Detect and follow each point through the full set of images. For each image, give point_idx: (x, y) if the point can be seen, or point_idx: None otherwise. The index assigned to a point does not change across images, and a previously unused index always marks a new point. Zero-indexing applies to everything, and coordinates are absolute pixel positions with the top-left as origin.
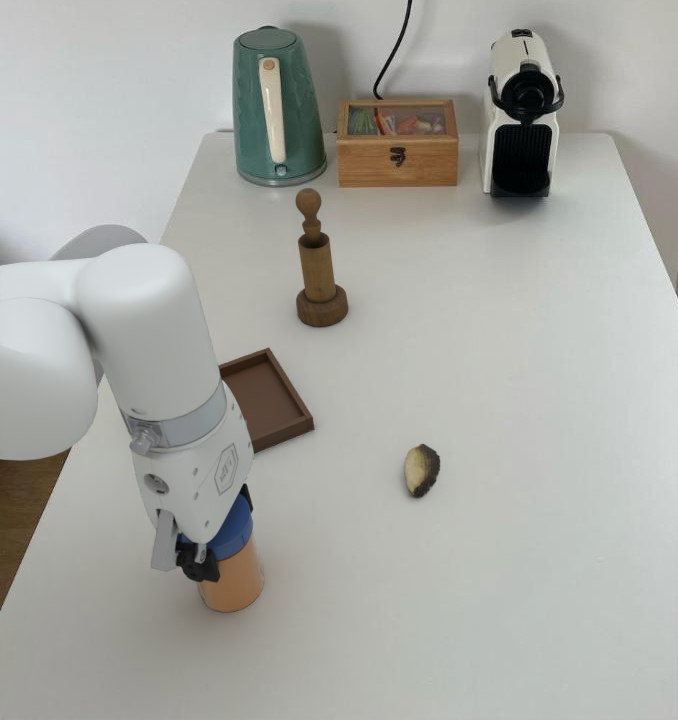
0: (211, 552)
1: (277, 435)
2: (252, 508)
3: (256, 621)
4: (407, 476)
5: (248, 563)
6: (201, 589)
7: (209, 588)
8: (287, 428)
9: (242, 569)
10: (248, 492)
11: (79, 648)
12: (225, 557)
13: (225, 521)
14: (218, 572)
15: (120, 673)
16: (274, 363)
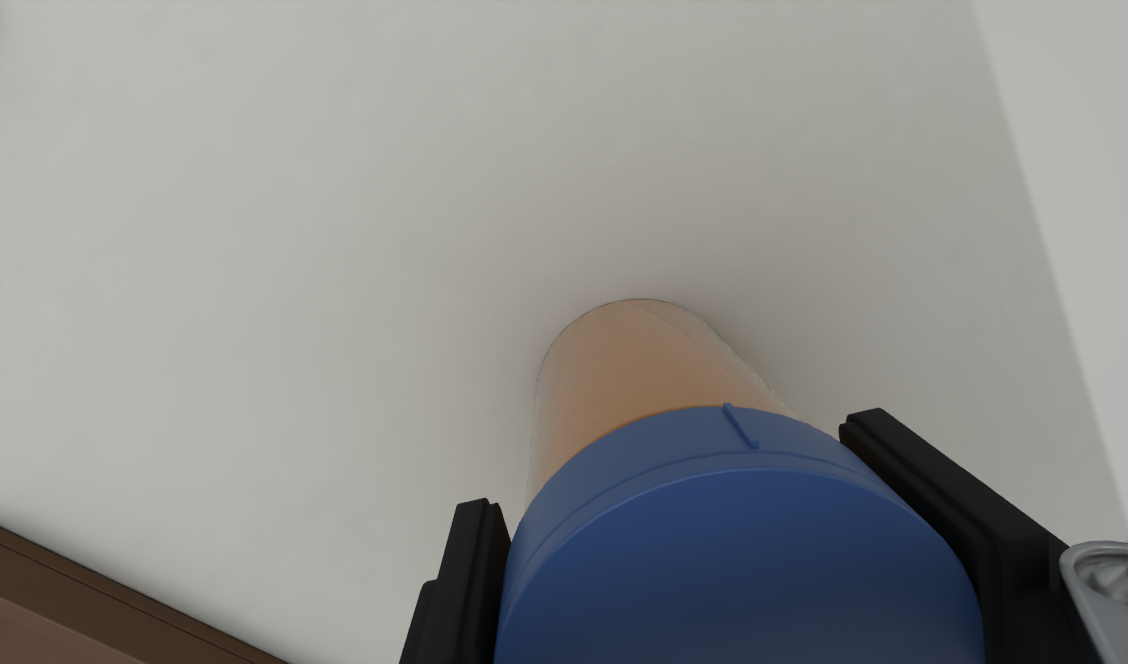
0: (1009, 539)
1: (85, 610)
2: (462, 511)
3: (715, 250)
4: None
5: (681, 357)
6: None
7: None
8: (32, 602)
9: (717, 362)
10: (436, 603)
11: None
12: (847, 448)
13: (735, 603)
14: (877, 430)
15: (996, 488)
16: None
